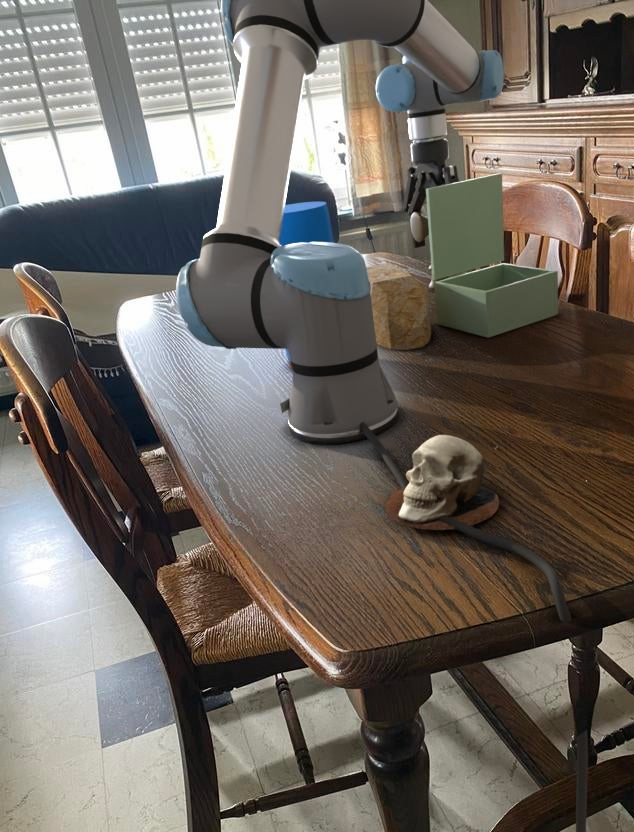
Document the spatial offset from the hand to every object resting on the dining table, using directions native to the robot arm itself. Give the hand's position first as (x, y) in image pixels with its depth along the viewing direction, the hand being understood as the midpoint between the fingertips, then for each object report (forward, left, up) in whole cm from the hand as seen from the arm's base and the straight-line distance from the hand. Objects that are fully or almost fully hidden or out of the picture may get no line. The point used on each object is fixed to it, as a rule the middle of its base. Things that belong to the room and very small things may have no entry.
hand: (438, 249), depth 160 cm
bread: (-13, +23, -9) cm, 28 cm away
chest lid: (-22, +9, +8) cm, 25 cm away
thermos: (-22, +43, -9) cm, 49 cm away
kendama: (0, 0, -9) cm, 9 cm away
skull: (-78, +59, -9) cm, 98 cm away
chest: (-29, +9, -8) cm, 32 cm away
